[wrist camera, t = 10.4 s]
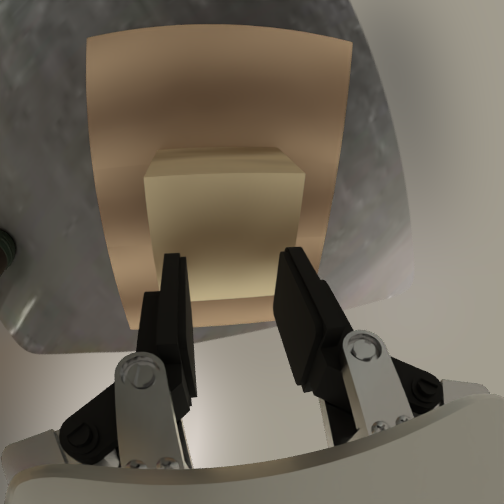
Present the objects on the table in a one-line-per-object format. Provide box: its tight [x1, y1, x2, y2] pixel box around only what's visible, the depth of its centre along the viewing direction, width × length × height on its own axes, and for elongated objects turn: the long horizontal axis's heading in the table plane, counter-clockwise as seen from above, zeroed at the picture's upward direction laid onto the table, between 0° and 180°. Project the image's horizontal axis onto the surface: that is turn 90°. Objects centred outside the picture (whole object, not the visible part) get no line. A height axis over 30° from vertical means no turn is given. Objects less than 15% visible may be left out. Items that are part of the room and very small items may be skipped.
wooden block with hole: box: [86, 24, 353, 329], centre depth 19 cm, size 20×14×6 cm
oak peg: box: [144, 147, 305, 301], centre depth 17 cm, size 6×6×10 cm
